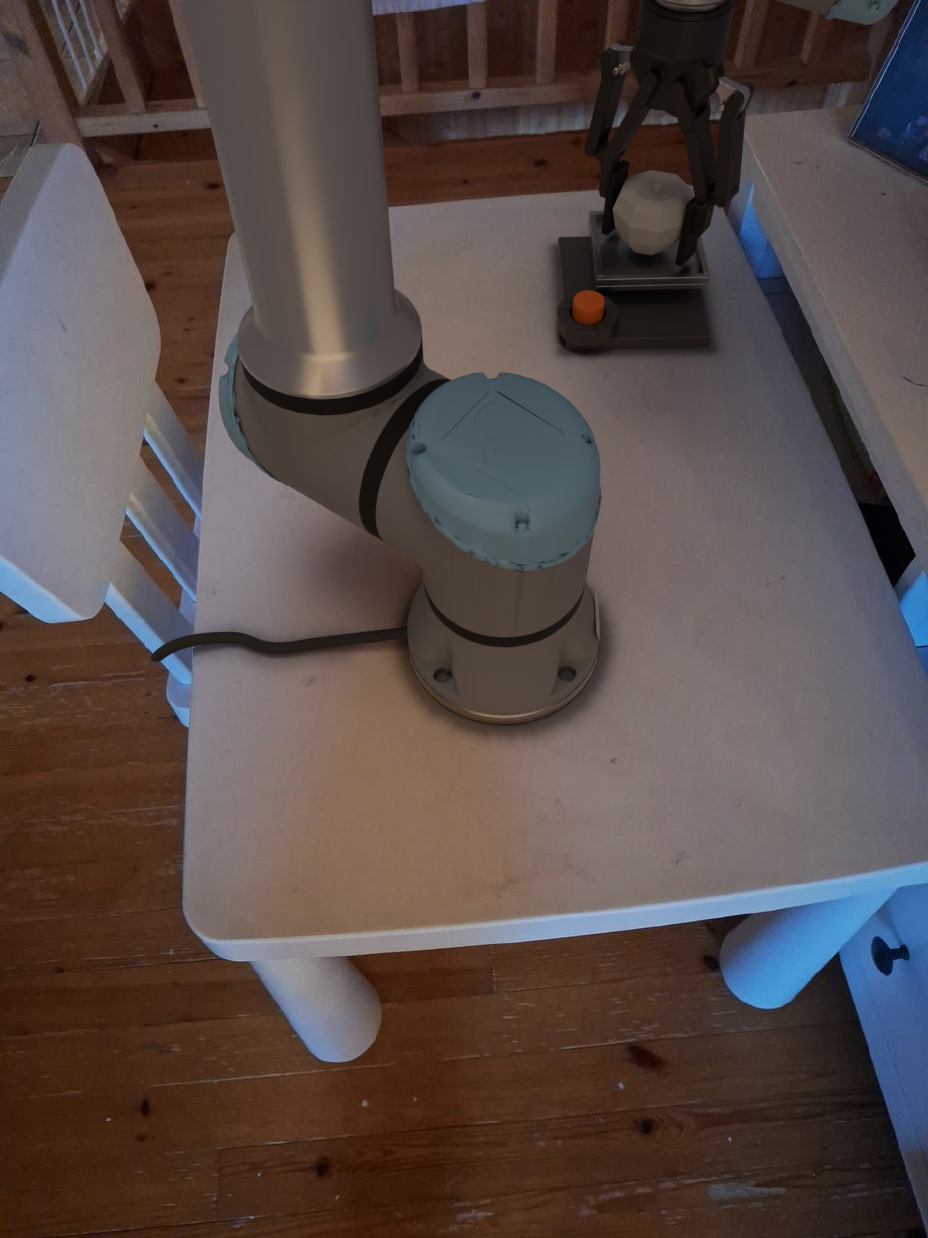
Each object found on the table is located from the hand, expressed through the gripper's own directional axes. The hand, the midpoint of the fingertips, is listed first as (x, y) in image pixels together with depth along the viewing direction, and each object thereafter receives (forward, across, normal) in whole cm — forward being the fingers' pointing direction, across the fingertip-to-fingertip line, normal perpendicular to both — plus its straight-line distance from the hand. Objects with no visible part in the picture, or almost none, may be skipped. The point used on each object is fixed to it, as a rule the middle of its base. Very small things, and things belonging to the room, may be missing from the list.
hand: (647, 242), depth 91 cm
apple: (0, 0, 0) cm, 0 cm away
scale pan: (+1, 0, 0) cm, 1 cm away
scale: (+4, 0, -3) cm, 5 cm away
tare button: (+2, 0, -11) cm, 11 cm away
